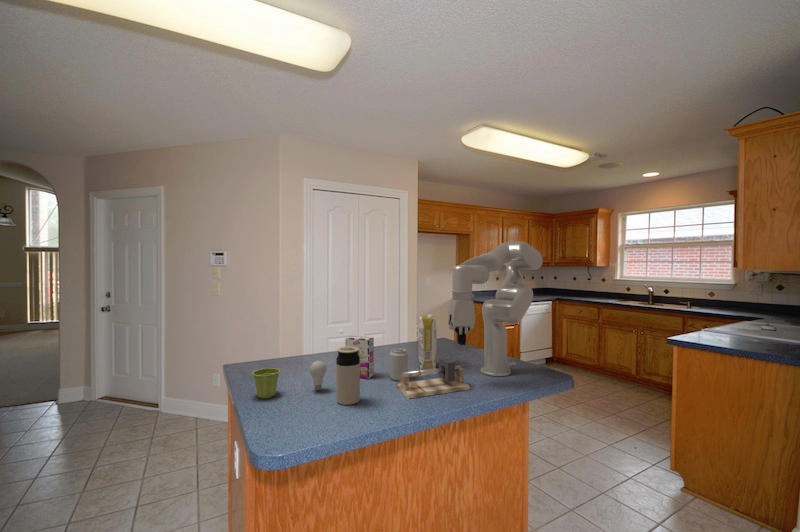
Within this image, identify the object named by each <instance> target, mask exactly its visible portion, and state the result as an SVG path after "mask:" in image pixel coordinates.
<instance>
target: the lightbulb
mask: <svg viewBox="0 0 800 532" xmlns="http://www.w3.org/2000/svg"><path fill="white" fill-rule="evenodd" d="M309 373H310V376H311V377H312V380H313V385H314V390H315V391H317V392H319V391H320V390H322V388H323V387H322V386H323V380H324V376H325V375H326V373H327V365H326V364H325V362H323V361H321V360H316V361H313V362H312V363H311V365H310V367H309Z"/></svg>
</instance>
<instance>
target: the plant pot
mask: <svg viewBox="0 0 800 532" xmlns="http://www.w3.org/2000/svg"><path fill="white" fill-rule="evenodd" d="M280 373H281V370H280V369H279V368H274V367H268V368H260V369H257V370H254V371H253V372H251V375H252V376H253V379H254V384H255V390H256V396H257V398H260V399H270V398H272V397H274V396H276V393H277V384H278V378H279V376H280Z"/></svg>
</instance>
